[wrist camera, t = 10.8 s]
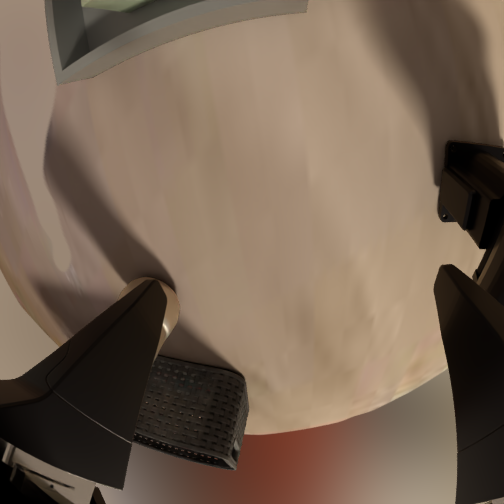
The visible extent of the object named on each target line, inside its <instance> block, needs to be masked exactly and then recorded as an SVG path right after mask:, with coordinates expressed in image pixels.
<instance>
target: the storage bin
mask: <svg viewBox="0 0 504 504" xmlns="http://www.w3.org/2000/svg"><path fill="white" fill-rule="evenodd" d="M146 402H147V403H146ZM153 404H154V405H153ZM163 407H164V408H163ZM180 412H181V413H180ZM248 412H249V404H248V395H247V387H246V382H245V380H244V379H243V378H241V377H240V376H239V375H237V374H234V373H232V372H229V371H226V370H222V369H219V368H214V367H208V366H203V365H198V364H193V363H188V362H184V361H179V360H175V359H170V358H166V357H162V356H158V355H157V357H156V359H155V360H154V362H153V365H152V368H151V372H150V375H149V379H148V382H147V386H146V390H145V393H144V397H143V401H142V405H141V409H140V413H139V417H138V421H137V425H136V429H135V433H134V434H136V435H134V438H133V442H134V443H137V444H139V445H142V446H145V447H147V448H150V449H153V450H156V451H159V452H162V453H165V454H168V455H171V456H174V457H178V458H181V459H184V460H188V461H192V462H196V463H199V464H203V465H207V466H212V467H217V468H221V469H227V470H236V468H237V467H236V466H237V463H238V457H239V455H240V449H241V446H242V439H243V436H244V430H245V427H246V421H247V417H248ZM141 414H142V415H141ZM192 415H193V416H192ZM199 417H201V418H199ZM159 420H160V421H159ZM169 423H170V424H169ZM176 425H178V426H176ZM155 427H156V428H155ZM188 428H189V429H188ZM144 429H145V430H144ZM194 430H197V431H194ZM153 432H154V433H153ZM174 433H175V434H174ZM139 436H142V438H141V437H139ZM145 438H147V440H146V439H145ZM172 438H173V439H172ZM139 440H140V441H139ZM150 440H153V442H152V441H150ZM156 442H159V444H158V443H156ZM149 444H151V445H149ZM162 444H165V446H164V445H162ZM156 446H157V447H156ZM168 446H171V448H170V447H168ZM161 448H163V449H161ZM175 448H178V449H175ZM168 450H169V451H168ZM181 450H184V451H181ZM188 451H189V452H191V453H188ZM173 452H175V453H173ZM194 453H196V454H197V455H195V454H194ZM181 454H182V455H181ZM201 455H204V456H201ZM187 456H189V457H187ZM208 456H209V457H211V458H208ZM214 458H217V459H218V460H216V459H214ZM200 459H201V460H200ZM207 461H209V462H207Z"/></svg>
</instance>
